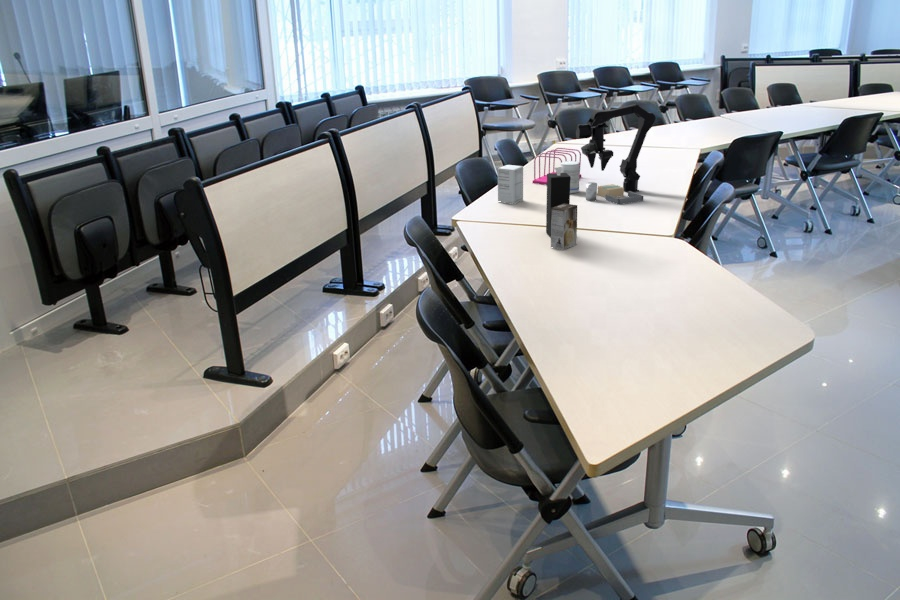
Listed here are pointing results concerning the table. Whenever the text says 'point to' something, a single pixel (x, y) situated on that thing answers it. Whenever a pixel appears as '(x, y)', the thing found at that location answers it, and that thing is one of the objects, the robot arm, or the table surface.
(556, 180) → the tall black pillar
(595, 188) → the grey rounded block
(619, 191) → the carton
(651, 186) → the table surface
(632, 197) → the gray u-shaped frame
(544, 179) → the file sorter
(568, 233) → the coffee box
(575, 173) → the supplement tub
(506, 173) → the supplement box
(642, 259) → the table surface
